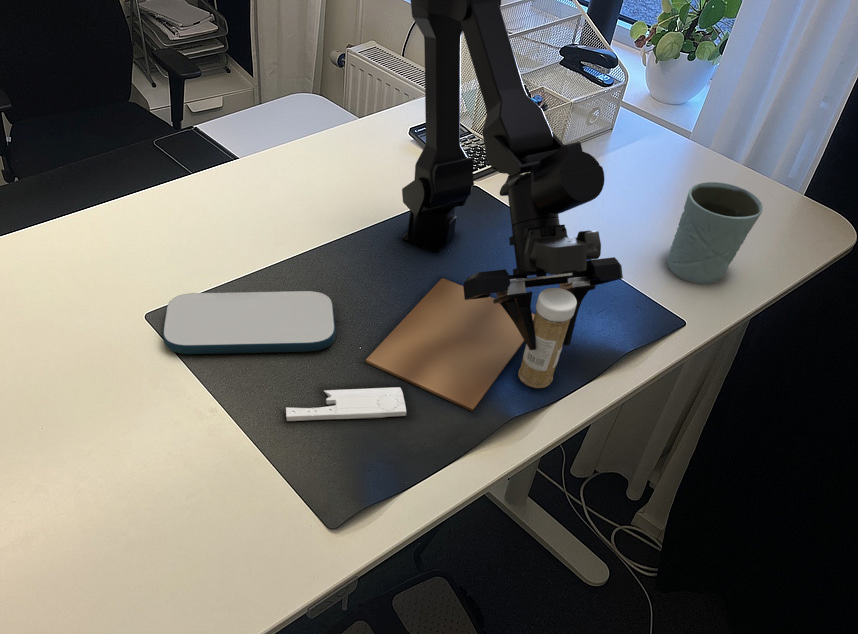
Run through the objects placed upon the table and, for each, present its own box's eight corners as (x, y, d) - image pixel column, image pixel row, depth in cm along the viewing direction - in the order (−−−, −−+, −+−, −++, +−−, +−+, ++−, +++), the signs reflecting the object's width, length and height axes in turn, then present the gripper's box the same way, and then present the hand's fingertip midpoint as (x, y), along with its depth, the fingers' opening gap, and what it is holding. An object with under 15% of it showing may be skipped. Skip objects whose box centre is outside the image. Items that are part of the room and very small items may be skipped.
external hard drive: (161, 358, 102) (159, 346, 100) (169, 303, 110) (168, 292, 108) (336, 354, 103) (337, 343, 101) (332, 300, 111) (332, 289, 109)
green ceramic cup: (650, 267, 118) (677, 199, 109) (679, 240, 123) (707, 173, 114) (713, 295, 113) (746, 226, 104) (740, 266, 118) (774, 198, 109)
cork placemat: (365, 362, 102) (365, 359, 101) (441, 280, 114) (442, 277, 114) (472, 411, 96) (473, 409, 95) (540, 319, 108) (541, 316, 108)
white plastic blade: (285, 392, 97) (285, 386, 97) (400, 388, 98) (401, 382, 98) (286, 421, 94) (286, 415, 93) (406, 417, 95) (406, 411, 94)
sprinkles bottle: (559, 381, 100) (586, 301, 90) (533, 394, 98) (558, 314, 88) (534, 361, 102) (558, 281, 93) (509, 373, 101) (530, 293, 91)
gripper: (487, 215, 85) (503, 353, 85) (640, 200, 87) (655, 334, 88) (455, 235, 96) (470, 357, 96) (592, 221, 98) (606, 340, 99)
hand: (549, 347), depth 94 cm, fingers closed on sprinkles bottle, 4 cm apart
